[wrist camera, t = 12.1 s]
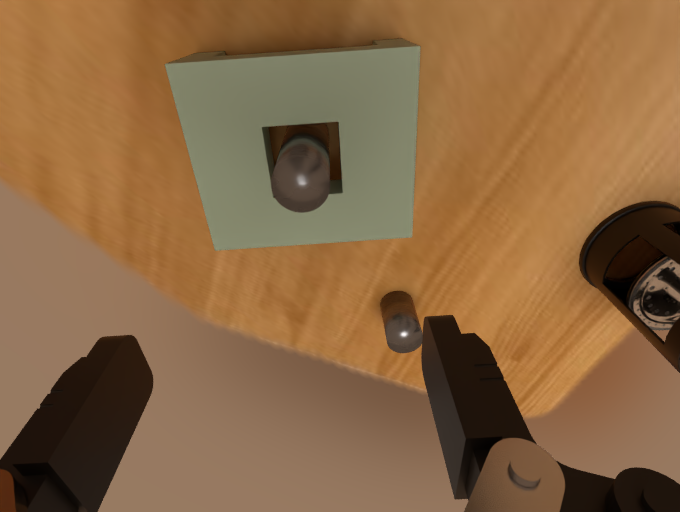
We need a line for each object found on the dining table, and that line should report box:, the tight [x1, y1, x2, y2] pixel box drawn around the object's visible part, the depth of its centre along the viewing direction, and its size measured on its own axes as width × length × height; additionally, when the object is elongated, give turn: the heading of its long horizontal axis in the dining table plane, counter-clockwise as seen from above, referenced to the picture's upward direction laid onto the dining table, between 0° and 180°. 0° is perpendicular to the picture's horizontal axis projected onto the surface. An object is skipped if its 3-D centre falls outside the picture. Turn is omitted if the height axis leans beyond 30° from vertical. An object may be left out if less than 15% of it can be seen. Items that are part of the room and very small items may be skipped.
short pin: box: [380, 291, 423, 353], centre depth 37 cm, size 3×3×5 cm
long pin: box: [271, 123, 330, 213], centre depth 26 cm, size 3×3×10 cm
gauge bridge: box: [165, 39, 420, 251], centre depth 27 cm, size 14×12×6 cm
